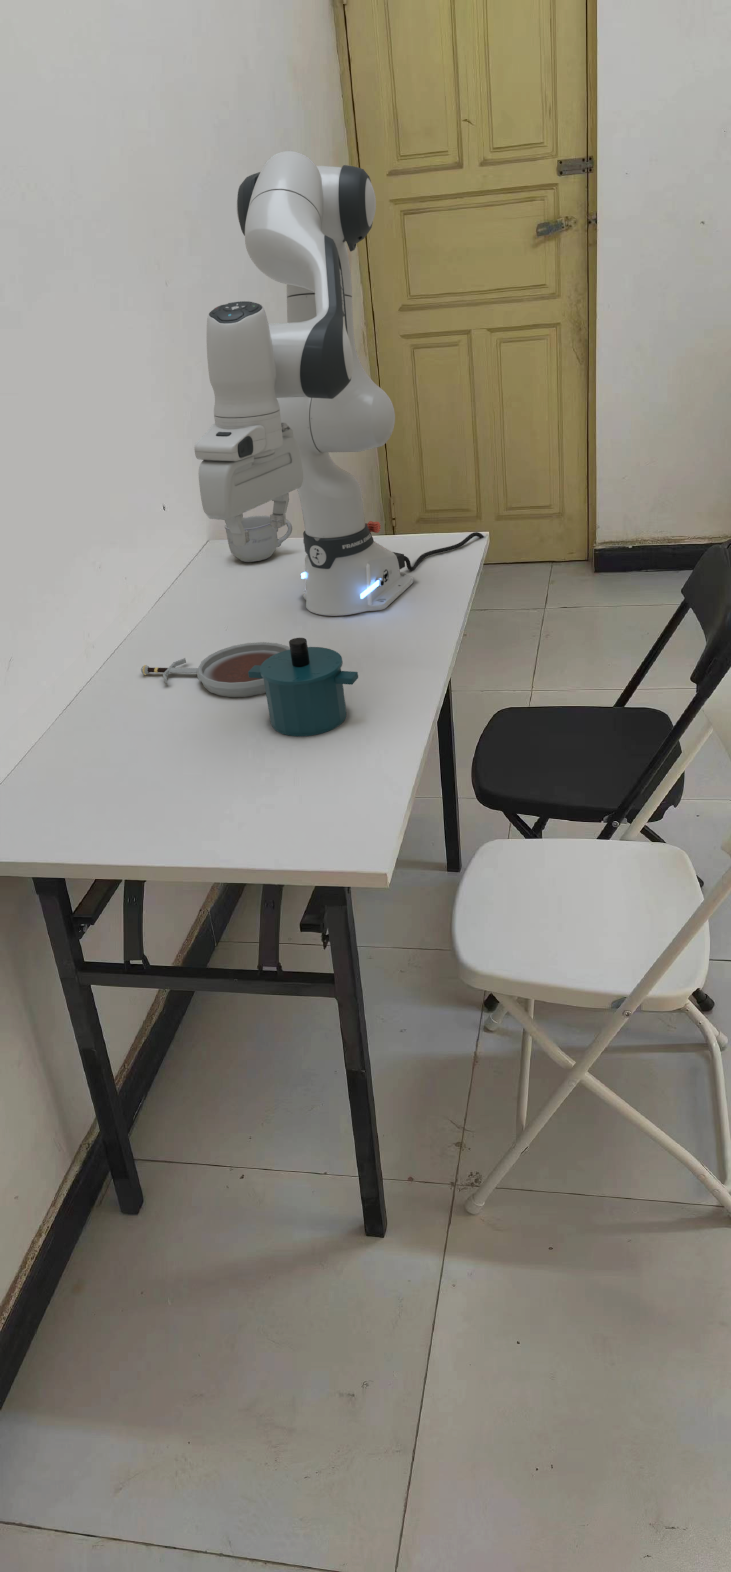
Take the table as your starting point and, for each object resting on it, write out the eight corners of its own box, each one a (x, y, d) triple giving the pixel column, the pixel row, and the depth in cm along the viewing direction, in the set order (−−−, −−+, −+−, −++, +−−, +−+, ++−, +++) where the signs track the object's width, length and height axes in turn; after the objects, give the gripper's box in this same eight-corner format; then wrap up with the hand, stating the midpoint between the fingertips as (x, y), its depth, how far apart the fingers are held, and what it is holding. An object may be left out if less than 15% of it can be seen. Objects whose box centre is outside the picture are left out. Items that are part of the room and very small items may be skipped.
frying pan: (159, 641, 195) (311, 639, 187) (163, 656, 197) (313, 655, 189) (117, 683, 181) (279, 683, 173) (121, 700, 183) (282, 700, 175)
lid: (281, 651, 172) (277, 622, 169) (355, 656, 167) (351, 626, 165) (247, 686, 162) (241, 655, 159) (324, 691, 158) (319, 660, 155)
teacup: (224, 567, 234) (218, 530, 230) (238, 550, 243) (232, 514, 239) (288, 564, 231) (283, 527, 227) (299, 547, 240) (295, 510, 236)
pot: (274, 698, 176) (266, 648, 172) (373, 705, 170) (368, 654, 166) (242, 731, 167) (233, 680, 163) (346, 740, 161) (339, 687, 157)
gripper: (271, 419, 160) (281, 515, 166) (185, 449, 144) (200, 553, 150) (309, 420, 157) (317, 517, 163) (225, 450, 141) (238, 557, 148)
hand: (260, 535), depth 157 cm, fingers open, 8 cm apart
